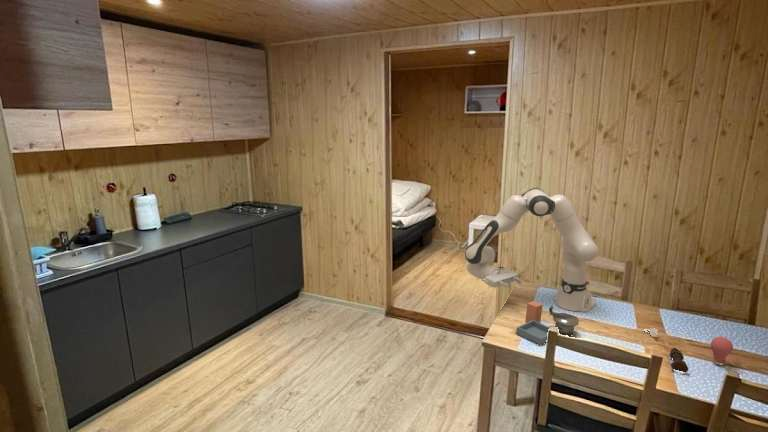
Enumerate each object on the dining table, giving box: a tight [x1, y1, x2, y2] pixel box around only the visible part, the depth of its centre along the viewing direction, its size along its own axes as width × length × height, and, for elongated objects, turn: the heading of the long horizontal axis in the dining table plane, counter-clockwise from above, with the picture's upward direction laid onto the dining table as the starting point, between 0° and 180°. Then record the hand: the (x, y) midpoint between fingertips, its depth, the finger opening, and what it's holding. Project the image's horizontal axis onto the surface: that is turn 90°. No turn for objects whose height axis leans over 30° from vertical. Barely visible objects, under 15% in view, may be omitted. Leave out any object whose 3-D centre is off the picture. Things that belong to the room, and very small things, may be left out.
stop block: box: [524, 300, 544, 323], centre depth 202 cm, size 5×5×10 cm
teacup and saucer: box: [643, 327, 659, 338], centre depth 192 cm, size 9×8×4 cm
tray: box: [515, 320, 551, 346], centre depth 190 cm, size 13×13×4 cm
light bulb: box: [710, 336, 734, 363], centre depth 170 cm, size 7×7×12 cm
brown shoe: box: [668, 347, 690, 373], centre depth 171 cm, size 6×5×15 cm
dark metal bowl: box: [548, 305, 580, 337], centre depth 194 cm, size 13×11×11 cm
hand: (514, 284), depth 209 cm, fingers open, 8 cm apart
